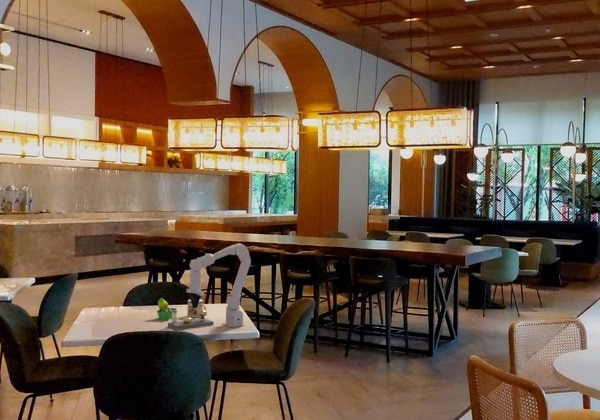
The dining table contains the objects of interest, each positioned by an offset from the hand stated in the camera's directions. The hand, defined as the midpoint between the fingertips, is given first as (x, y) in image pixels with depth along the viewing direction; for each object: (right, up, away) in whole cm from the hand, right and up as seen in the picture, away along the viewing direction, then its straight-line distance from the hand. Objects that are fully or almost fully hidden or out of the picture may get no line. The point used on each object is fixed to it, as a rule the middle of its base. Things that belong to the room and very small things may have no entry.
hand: (194, 307), depth 356 cm
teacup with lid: (-3, -9, +26) cm, 27 cm away
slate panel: (-2, -10, 0) cm, 10 cm away
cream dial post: (-10, -8, -4) cm, 14 cm away
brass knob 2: (+3, -7, +3) cm, 8 cm away
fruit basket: (-19, -9, +17) cm, 27 cm away
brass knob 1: (-3, -10, -2) cm, 10 cm away
